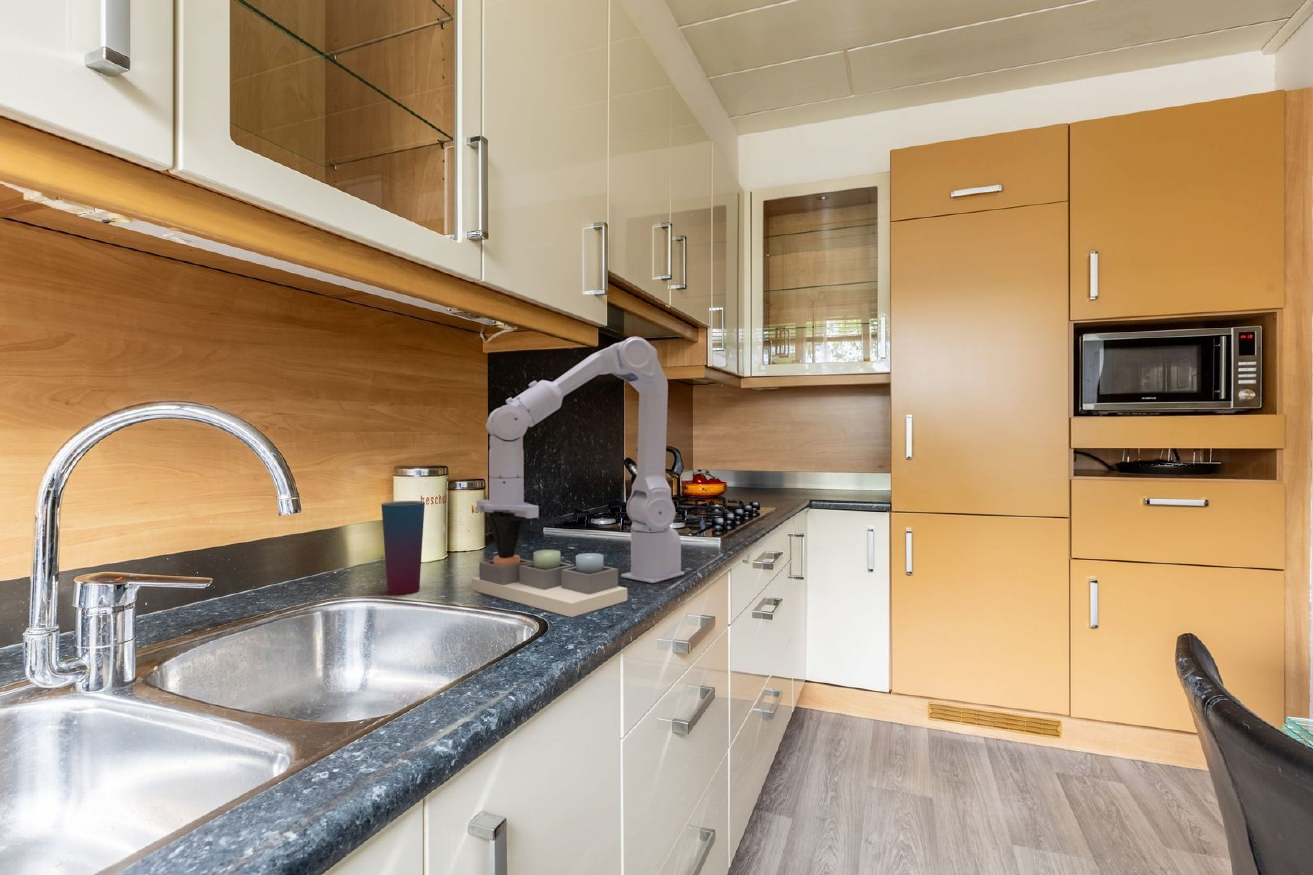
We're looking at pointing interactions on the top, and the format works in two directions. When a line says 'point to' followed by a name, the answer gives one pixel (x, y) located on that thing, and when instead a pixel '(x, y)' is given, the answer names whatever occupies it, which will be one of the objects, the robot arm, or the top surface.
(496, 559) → the button terracotta
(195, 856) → the top surface
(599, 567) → the button blue
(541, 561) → the button green
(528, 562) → the panel
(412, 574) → the cup
